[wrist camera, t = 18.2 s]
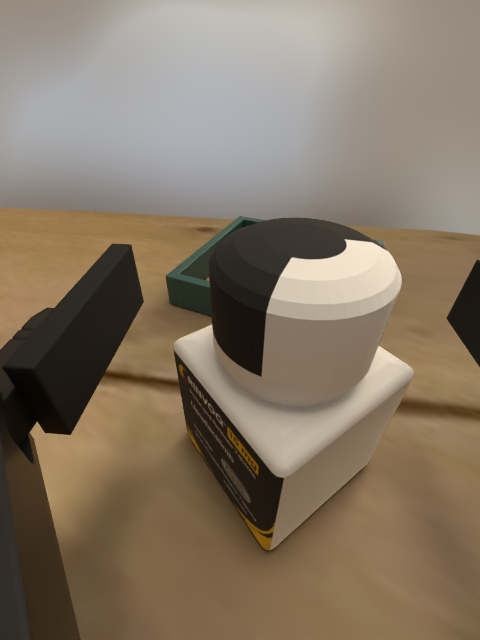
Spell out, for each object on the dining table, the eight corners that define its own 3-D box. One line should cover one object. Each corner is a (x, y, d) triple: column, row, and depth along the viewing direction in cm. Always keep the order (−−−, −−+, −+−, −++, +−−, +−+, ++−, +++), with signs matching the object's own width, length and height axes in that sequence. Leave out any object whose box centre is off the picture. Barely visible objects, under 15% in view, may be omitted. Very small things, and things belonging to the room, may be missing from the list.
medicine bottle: (185, 433, 18) (149, 228, 11) (281, 377, 21) (305, 190, 14) (266, 557, 14) (304, 354, 6) (371, 461, 17) (480, 253, 9)
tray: (376, 266, 33) (384, 241, 31) (354, 358, 23) (364, 328, 21) (239, 238, 38) (239, 215, 36) (169, 303, 28) (165, 275, 26)
